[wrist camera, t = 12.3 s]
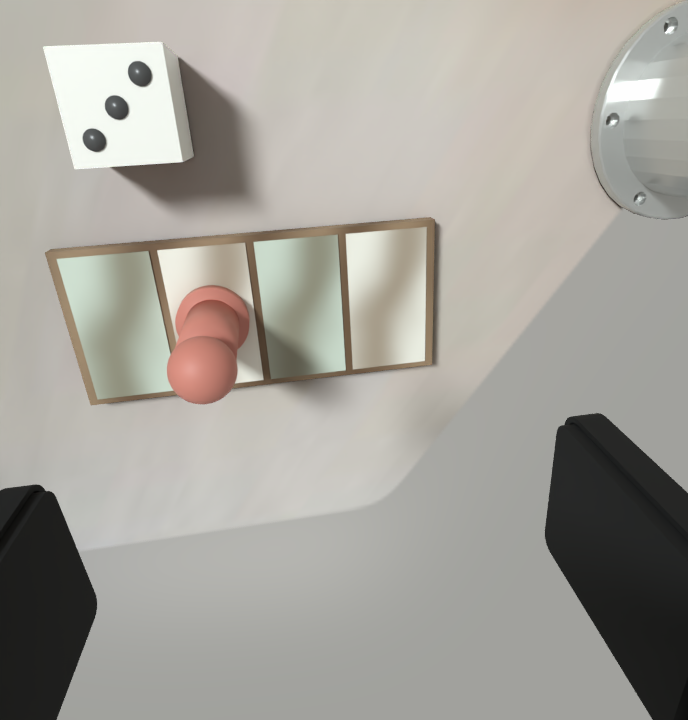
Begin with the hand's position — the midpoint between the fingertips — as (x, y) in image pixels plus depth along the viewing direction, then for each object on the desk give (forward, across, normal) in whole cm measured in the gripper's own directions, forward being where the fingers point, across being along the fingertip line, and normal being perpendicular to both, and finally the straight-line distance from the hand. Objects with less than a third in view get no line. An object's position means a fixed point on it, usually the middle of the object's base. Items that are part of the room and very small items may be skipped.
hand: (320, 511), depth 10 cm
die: (+25, +8, -8) cm, 27 cm away
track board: (+25, +3, +4) cm, 25 cm away
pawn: (+24, +6, +4) cm, 25 cm away
